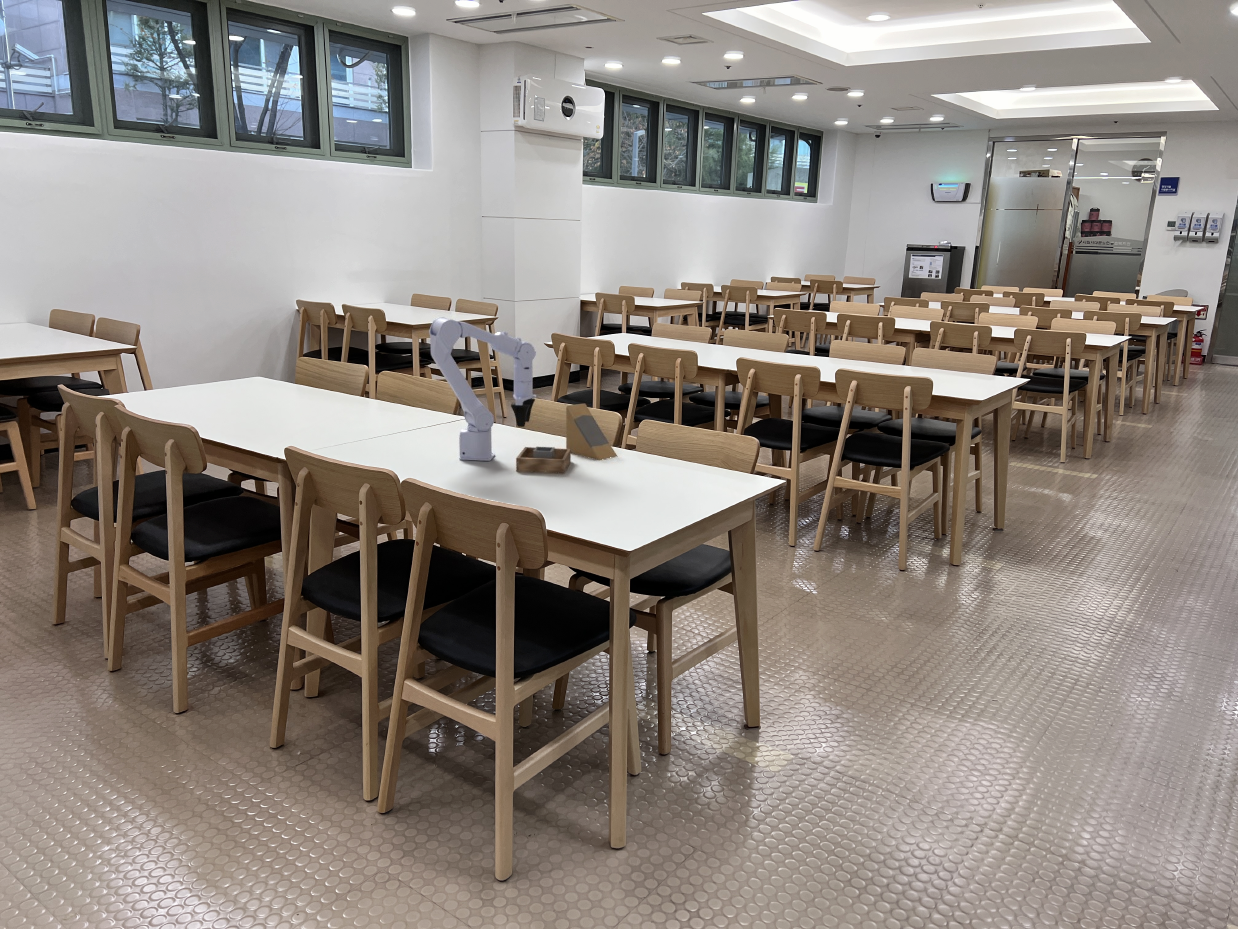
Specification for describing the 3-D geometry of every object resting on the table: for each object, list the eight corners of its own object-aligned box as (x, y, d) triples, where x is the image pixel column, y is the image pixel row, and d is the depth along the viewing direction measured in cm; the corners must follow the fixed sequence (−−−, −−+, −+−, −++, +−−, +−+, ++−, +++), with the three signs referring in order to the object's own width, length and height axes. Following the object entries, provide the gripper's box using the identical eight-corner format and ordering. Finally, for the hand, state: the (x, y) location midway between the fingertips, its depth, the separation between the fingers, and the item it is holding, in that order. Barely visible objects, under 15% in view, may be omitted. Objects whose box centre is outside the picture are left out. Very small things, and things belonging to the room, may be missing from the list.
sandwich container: (599, 461, 267) (600, 413, 263) (565, 452, 277) (565, 405, 273) (618, 456, 273) (619, 409, 269) (584, 448, 283) (585, 402, 279)
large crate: (516, 471, 252) (516, 458, 251) (525, 459, 265) (525, 447, 264) (564, 473, 251) (564, 460, 250) (570, 461, 264) (570, 448, 263)
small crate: (533, 465, 256) (533, 450, 254) (536, 461, 261) (536, 446, 260) (551, 466, 255) (552, 451, 254) (554, 461, 260) (554, 447, 259)
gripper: (531, 384, 260) (531, 429, 264) (539, 377, 274) (539, 419, 278) (508, 384, 261) (508, 428, 264) (517, 376, 275) (517, 419, 278)
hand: (523, 424), depth 271 cm, fingers open, 7 cm apart
